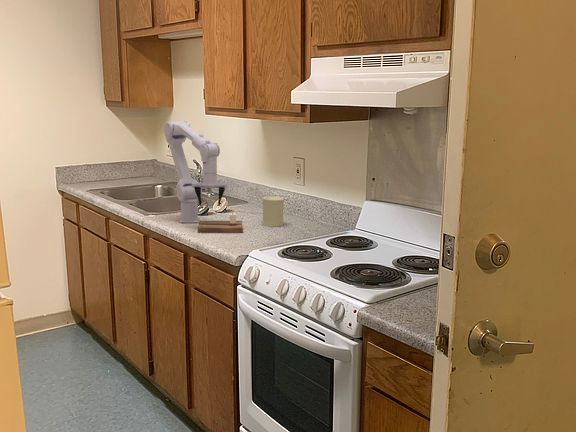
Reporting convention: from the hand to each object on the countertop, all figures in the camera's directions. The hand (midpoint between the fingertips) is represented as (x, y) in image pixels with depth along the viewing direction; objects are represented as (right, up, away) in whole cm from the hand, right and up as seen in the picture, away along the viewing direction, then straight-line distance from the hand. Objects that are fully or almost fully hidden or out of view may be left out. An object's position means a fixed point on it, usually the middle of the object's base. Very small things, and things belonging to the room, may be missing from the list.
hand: (209, 205), depth 247 cm
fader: (+10, -7, 0) cm, 12 cm away
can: (+26, -8, +11) cm, 29 cm away
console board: (+5, -10, -1) cm, 11 cm away
